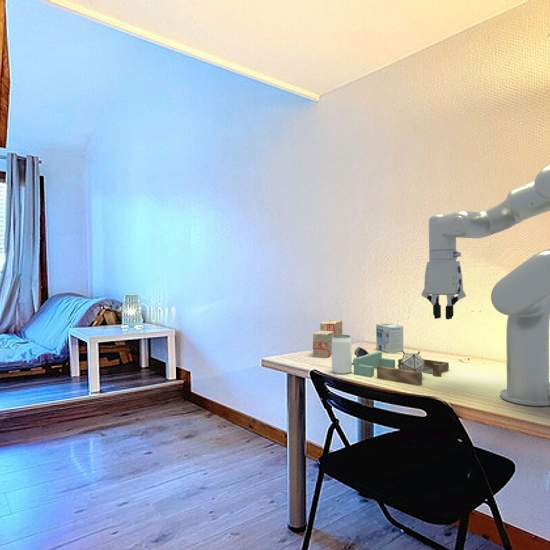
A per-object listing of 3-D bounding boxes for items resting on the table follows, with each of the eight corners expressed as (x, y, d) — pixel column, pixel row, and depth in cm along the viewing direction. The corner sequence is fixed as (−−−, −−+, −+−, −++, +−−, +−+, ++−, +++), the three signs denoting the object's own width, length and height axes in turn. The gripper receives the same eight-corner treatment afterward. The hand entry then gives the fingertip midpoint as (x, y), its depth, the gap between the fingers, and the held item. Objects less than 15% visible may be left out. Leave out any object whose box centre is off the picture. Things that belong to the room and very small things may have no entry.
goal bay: (395, 368, 152) (395, 353, 152) (371, 376, 140) (371, 361, 140) (378, 365, 156) (378, 351, 156) (353, 373, 145) (353, 358, 145)
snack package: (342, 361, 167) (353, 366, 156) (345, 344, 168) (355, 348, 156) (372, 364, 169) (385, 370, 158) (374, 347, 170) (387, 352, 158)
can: (336, 375, 144) (336, 337, 144) (329, 370, 150) (328, 335, 150) (355, 373, 146) (354, 336, 145) (346, 369, 152) (346, 334, 152)
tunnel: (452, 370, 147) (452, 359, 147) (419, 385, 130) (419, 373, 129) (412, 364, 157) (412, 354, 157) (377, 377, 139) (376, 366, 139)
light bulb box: (375, 349, 187) (375, 323, 187) (389, 348, 189) (389, 322, 189) (389, 353, 177) (389, 326, 177) (404, 352, 179) (404, 325, 179)
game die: (415, 387, 141) (429, 360, 143) (420, 384, 133) (436, 356, 135) (389, 372, 143) (404, 346, 146) (393, 368, 135) (409, 340, 138)
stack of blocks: (328, 358, 171) (327, 326, 171) (312, 357, 174) (312, 325, 173) (342, 348, 191) (342, 320, 190) (328, 347, 193) (328, 319, 193)
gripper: (475, 255, 129) (476, 319, 129) (421, 257, 140) (422, 315, 140) (465, 255, 123) (466, 321, 124) (410, 257, 135) (411, 318, 135)
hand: (443, 318), depth 132 cm, fingers open, 2 cm apart
